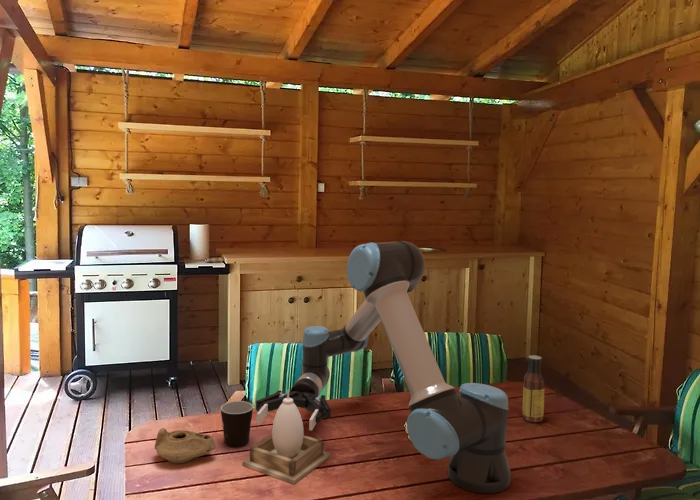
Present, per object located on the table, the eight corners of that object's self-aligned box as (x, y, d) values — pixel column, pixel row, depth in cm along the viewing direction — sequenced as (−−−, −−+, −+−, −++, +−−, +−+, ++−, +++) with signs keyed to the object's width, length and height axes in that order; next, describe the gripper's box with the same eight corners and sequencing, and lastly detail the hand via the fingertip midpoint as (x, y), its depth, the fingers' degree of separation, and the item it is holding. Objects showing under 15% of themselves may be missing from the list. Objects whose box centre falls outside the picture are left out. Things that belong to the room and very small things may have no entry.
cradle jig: (330, 456, 150) (330, 440, 149) (293, 484, 136) (294, 466, 136) (281, 440, 158) (281, 425, 157) (242, 465, 144) (242, 448, 144)
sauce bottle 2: (266, 455, 147) (266, 388, 146) (291, 447, 153) (291, 381, 151) (283, 467, 142) (284, 397, 140) (309, 457, 147) (309, 390, 145)
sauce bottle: (545, 418, 178) (550, 356, 176) (540, 425, 173) (545, 362, 170) (524, 413, 182) (528, 352, 179) (518, 419, 177) (523, 357, 174)
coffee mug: (245, 451, 151) (245, 415, 150) (215, 447, 153) (215, 411, 152) (261, 432, 163) (261, 398, 161) (232, 428, 164) (232, 395, 163)
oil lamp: (216, 465, 144) (216, 435, 143) (153, 472, 140) (153, 441, 139) (214, 445, 154) (214, 417, 153) (155, 451, 150) (155, 422, 149)
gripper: (348, 407, 161) (332, 442, 141) (264, 398, 166) (236, 430, 145) (349, 382, 160) (333, 412, 140) (264, 373, 165) (236, 402, 144)
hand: (284, 422), depth 142 cm, fingers open, 13 cm apart
